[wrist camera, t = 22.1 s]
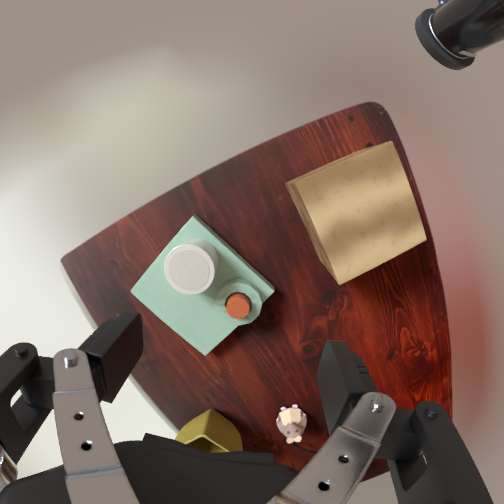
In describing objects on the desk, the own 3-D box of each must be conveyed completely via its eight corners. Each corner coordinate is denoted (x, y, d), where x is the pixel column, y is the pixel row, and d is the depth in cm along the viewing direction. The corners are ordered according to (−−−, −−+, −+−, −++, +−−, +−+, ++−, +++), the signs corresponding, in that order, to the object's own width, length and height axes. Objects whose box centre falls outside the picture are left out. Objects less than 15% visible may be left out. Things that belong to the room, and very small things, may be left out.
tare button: (237, 288, 36) (237, 293, 34) (254, 303, 36) (254, 308, 34) (222, 303, 36) (221, 308, 35) (239, 317, 36) (238, 323, 35)
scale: (195, 214, 37) (189, 217, 33) (276, 288, 39) (277, 297, 35) (135, 287, 39) (125, 295, 36) (209, 350, 41) (205, 363, 38)
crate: (284, 183, 36) (294, 182, 26) (359, 150, 34) (391, 140, 25) (319, 260, 38) (339, 285, 28) (389, 225, 36) (427, 239, 27)
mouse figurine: (281, 435, 45) (283, 462, 39) (273, 408, 44) (275, 436, 37) (309, 430, 45) (313, 456, 39) (303, 402, 43) (308, 430, 37)
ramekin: (174, 235, 35) (164, 241, 32) (221, 240, 35) (216, 247, 32) (172, 280, 37) (163, 291, 33) (217, 286, 37) (212, 298, 33)
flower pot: (178, 416, 45) (167, 451, 36) (210, 396, 43) (202, 434, 35) (214, 440, 46) (208, 475, 37) (247, 422, 45) (245, 460, 36)
